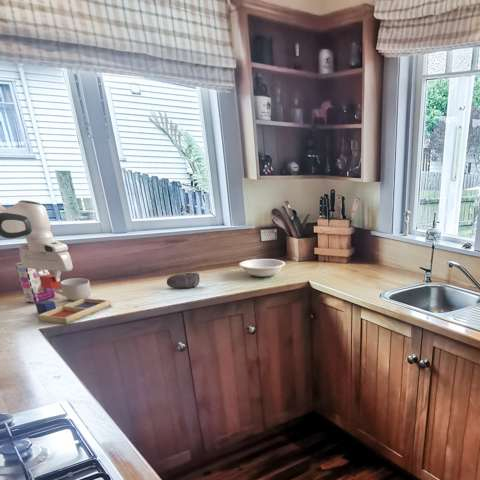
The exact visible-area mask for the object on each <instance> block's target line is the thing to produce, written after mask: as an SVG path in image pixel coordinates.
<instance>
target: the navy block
mask: <svg viewBox="0 0 480 480" xmlns="http://www.w3.org/2000/svg"><path fill="white" fill-rule="evenodd" d="M34 304H35V308H36V311H37V315H39V314H42V313H45V312H47V311H50V310H53V309H56V308H57V307H56V301H54V300H49V299H46V300H43V301H40V302H37V303H34Z"/></svg>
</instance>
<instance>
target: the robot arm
mask: <svg viewBox="0 0 480 480" xmlns="http://www.w3.org/2000/svg"><path fill="white" fill-rule="evenodd" d="M51 227H52V226H51V221H50V217H49V214H48V211H47V209H46V207H45V206H44V205H43V204H41V203H40V202H37V201H33V200H23V199H22V200H18V202H17V203H15V204H14V205H12V206H10V207H6V206H4V205H3V204H1V203H0V237H1V238H4V239H9V240H13V239H17V238H21V237H22V238H23V237H25V239H26V243H21V245H19V246H18V247H19V258H20V263H21V264H22V266H23V267H24V268H31V269H35V270H36V272H37V273H38V275H39V276H44V275H45V274H44V273H43V270H49V271H52V272H53V274H54V275H55V277H53V279H54V281H55V282H59V281H60V282H61V274H62V272H70V271H72V270H73V268H74V266H73V260H72V257H71V254H70V253H69V252H68V250H69V247H68V245H67V244H66V243H63V242H60V241H59V240H57V239H55V237H54V234H53V232H52V230H51Z"/></svg>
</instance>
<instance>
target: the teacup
mask: <svg viewBox="0 0 480 480" xmlns="http://www.w3.org/2000/svg"><path fill="white" fill-rule="evenodd" d="M60 285H61V287H59V288H60V290H61V291H59V290H57V289H56V288H53V290H54V293H55V294H59V295H61V296H62V297H65V298H66V299H68V300H70V301H73V302H75V301H78V300H81V299H83V298H90V296H91V295H92V288H91V283H90V280H89V279H88V278H83V277H75V278H66V279H64V280H60Z"/></svg>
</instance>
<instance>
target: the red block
mask: <svg viewBox="0 0 480 480" xmlns="http://www.w3.org/2000/svg"><path fill="white" fill-rule="evenodd" d="M39 277H40V281H41V286H42V288H49V289H53V288H55V289H56V288H60V287H61V285H60V282H61V280H60V281H59V282H55V281H54V279H53V277H55V274H50V273H49V274H48V275H44V276H39Z"/></svg>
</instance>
